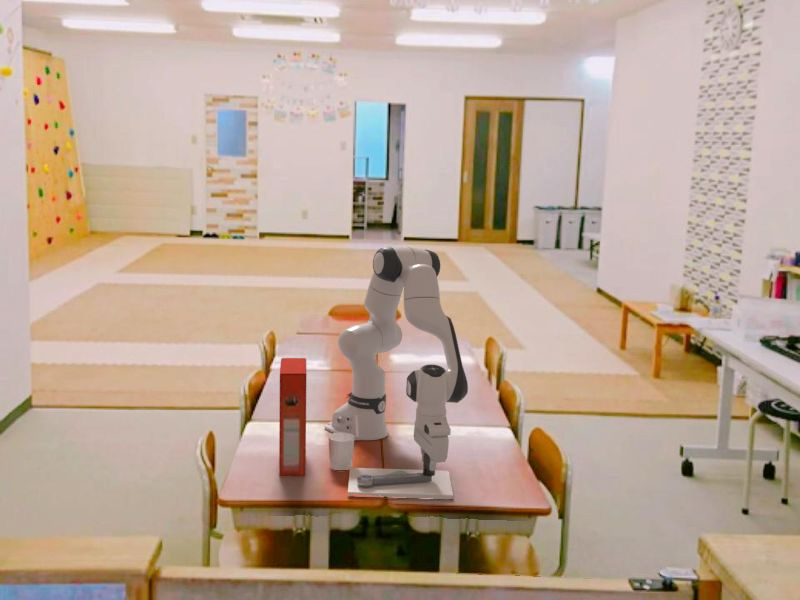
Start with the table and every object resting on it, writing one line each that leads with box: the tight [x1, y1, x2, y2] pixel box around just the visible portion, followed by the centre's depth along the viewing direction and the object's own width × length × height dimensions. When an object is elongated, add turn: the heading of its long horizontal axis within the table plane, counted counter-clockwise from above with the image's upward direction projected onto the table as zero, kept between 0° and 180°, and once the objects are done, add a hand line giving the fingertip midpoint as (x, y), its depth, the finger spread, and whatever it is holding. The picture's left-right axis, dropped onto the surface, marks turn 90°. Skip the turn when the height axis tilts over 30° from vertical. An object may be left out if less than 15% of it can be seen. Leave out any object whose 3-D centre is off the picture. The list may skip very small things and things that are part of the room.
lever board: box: [347, 467, 454, 500], centre depth 256 cm, size 30×18×2 cm, turn 91°
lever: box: [357, 453, 436, 487], centre depth 253 cm, size 23×5×8 cm, turn 105°
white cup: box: [328, 432, 355, 471], centre depth 267 cm, size 8×8×10 cm
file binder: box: [278, 357, 307, 477], centre depth 265 cm, size 8×17×32 cm, turn 6°
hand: (428, 465), depth 256 cm, fingers open, 5 cm apart
